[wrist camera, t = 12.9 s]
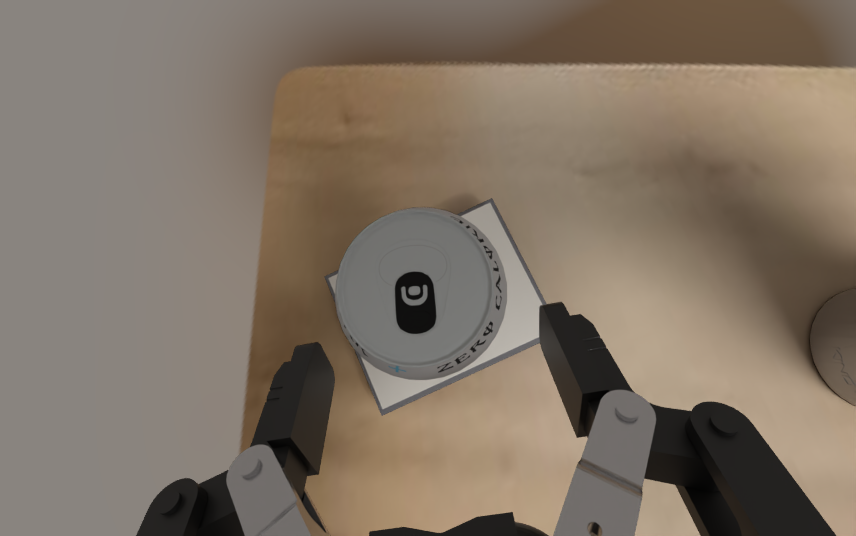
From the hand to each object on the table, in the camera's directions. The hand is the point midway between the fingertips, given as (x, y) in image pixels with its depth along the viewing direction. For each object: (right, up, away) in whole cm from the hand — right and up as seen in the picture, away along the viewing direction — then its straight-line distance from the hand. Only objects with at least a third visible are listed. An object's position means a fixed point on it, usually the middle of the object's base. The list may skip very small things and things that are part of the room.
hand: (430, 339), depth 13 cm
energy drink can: (+1, 0, +13) cm, 13 cm away
